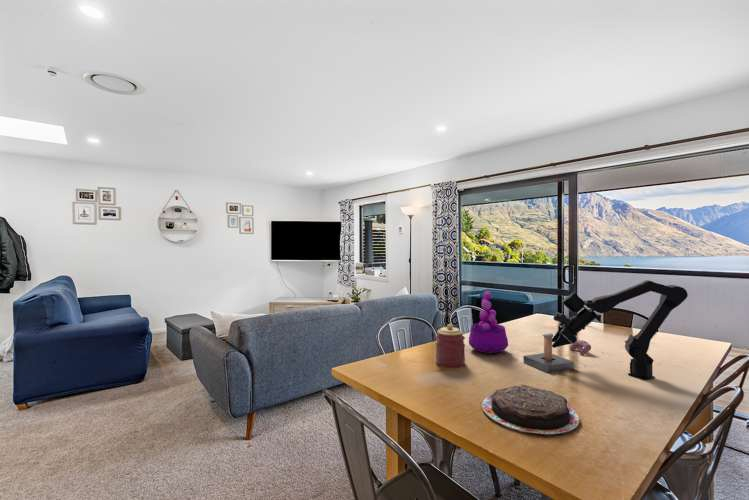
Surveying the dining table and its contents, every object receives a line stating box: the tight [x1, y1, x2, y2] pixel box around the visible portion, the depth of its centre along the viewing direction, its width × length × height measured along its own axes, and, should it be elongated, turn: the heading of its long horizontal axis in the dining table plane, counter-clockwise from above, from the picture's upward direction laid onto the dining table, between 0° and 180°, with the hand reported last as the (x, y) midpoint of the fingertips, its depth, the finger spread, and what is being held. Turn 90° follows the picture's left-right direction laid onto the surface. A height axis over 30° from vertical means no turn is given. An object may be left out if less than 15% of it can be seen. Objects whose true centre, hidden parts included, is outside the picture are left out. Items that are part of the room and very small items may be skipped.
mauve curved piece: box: [569, 339, 592, 356], centre depth 172 cm, size 10×5×7 cm, turn 1°
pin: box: [542, 332, 554, 361], centre depth 153 cm, size 4×4×14 cm
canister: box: [434, 323, 466, 368], centre depth 158 cm, size 13×13×18 cm
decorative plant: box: [468, 290, 509, 354], centre depth 175 cm, size 19×18×30 cm
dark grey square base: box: [523, 352, 575, 374], centre depth 153 cm, size 14×14×3 cm
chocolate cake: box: [481, 384, 581, 437], centre depth 110 cm, size 28×28×7 cm
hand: (552, 344), depth 153 cm, fingers open, 9 cm apart
